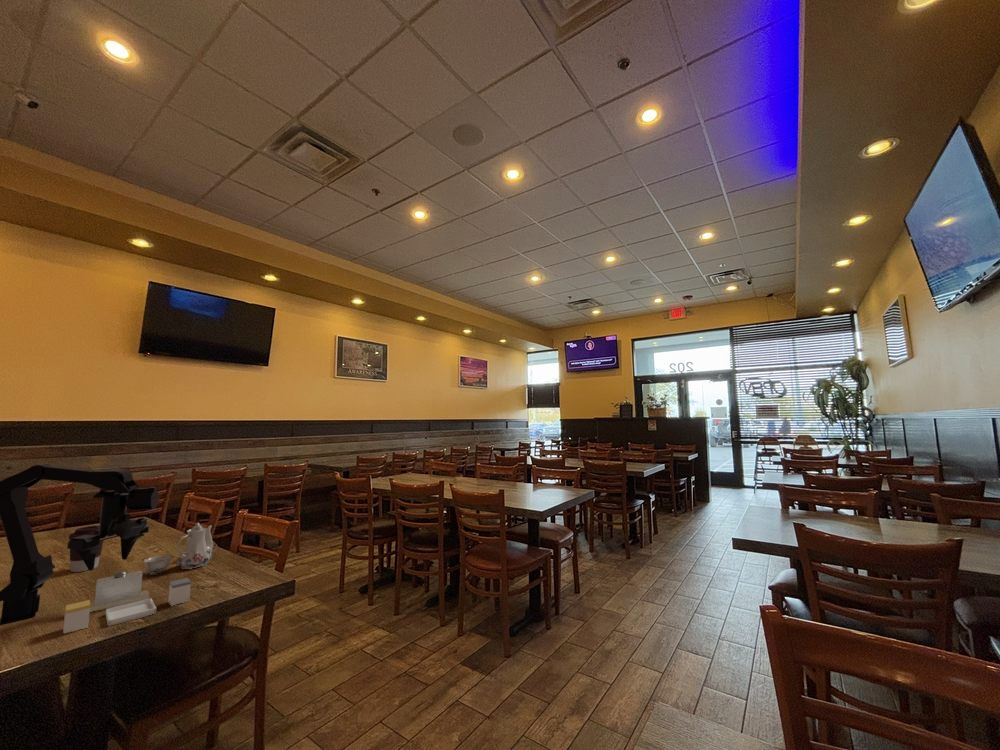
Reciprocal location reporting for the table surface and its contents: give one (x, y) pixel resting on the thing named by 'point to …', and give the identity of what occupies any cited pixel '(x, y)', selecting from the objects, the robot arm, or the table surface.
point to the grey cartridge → (179, 591)
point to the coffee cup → (75, 558)
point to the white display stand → (118, 590)
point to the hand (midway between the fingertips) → (108, 564)
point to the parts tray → (130, 611)
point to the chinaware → (186, 551)
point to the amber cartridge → (76, 616)
